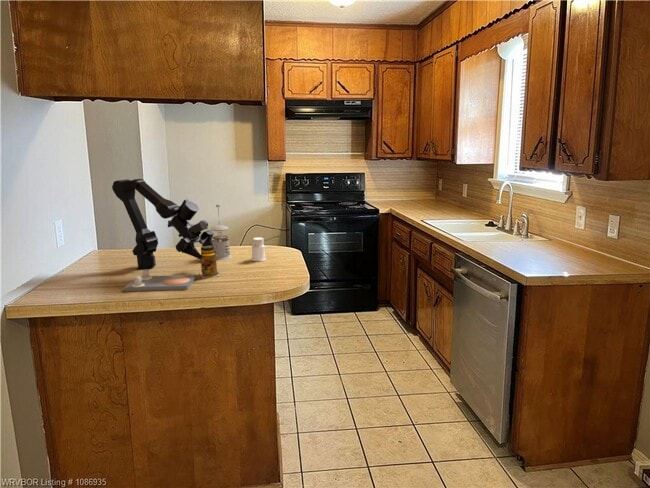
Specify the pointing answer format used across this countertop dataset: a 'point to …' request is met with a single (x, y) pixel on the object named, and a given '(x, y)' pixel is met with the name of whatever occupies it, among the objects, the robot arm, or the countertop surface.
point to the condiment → (208, 262)
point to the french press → (222, 246)
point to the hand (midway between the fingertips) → (208, 255)
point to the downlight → (258, 250)
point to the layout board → (160, 282)
